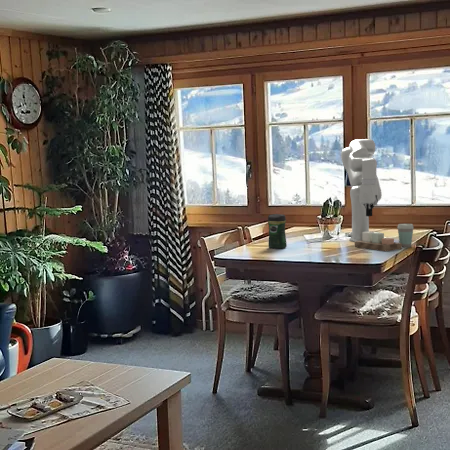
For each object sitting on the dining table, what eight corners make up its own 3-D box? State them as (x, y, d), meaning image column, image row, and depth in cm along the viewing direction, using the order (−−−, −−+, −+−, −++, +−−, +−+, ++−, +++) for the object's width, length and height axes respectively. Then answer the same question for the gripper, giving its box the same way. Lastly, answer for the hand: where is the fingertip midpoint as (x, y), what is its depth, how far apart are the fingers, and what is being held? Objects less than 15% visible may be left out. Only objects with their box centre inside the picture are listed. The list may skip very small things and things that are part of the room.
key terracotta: (381, 248, 351) (381, 238, 351) (387, 247, 354) (387, 237, 353) (388, 248, 348) (388, 239, 347) (394, 248, 350) (394, 238, 349)
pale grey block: (362, 241, 363) (362, 232, 362) (368, 240, 365) (368, 231, 364) (368, 242, 359) (368, 232, 358) (374, 241, 361) (374, 232, 361)
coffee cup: (414, 247, 352) (414, 225, 351) (397, 247, 354) (397, 225, 353) (413, 245, 361) (413, 223, 359) (396, 245, 362) (396, 223, 361)
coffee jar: (288, 247, 368) (288, 213, 365) (281, 249, 361) (280, 215, 359) (274, 246, 373) (273, 213, 371) (266, 248, 367) (265, 214, 365)
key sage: (371, 242, 357) (371, 233, 356) (377, 241, 359) (377, 232, 359) (378, 243, 353) (378, 234, 353) (383, 242, 356) (383, 233, 355)
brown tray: (355, 246, 362) (355, 241, 362) (370, 244, 369) (370, 239, 369) (385, 251, 344) (385, 245, 344) (401, 248, 351) (401, 243, 350)
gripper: (354, 181, 362) (354, 215, 364) (374, 183, 349) (374, 218, 352) (363, 180, 366) (363, 214, 369) (384, 182, 354) (384, 216, 356)
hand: (369, 216), depth 360 cm, fingers closed
